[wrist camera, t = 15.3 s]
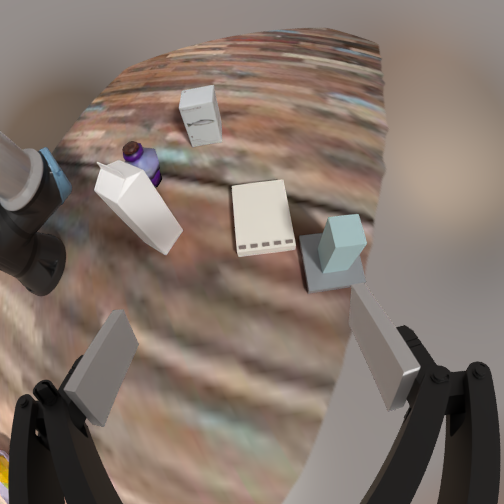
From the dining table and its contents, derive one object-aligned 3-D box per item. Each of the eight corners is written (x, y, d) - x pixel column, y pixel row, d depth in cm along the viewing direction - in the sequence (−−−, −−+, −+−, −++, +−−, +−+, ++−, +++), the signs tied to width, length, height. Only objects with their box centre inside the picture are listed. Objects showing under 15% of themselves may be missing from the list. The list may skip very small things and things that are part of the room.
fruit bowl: (5, 489, 24) (-17, 493, 14) (-5, 429, 34) (-32, 429, 24) (64, 540, 20) (42, 551, 10) (53, 482, 30) (23, 491, 20)
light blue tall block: (347, 269, 44) (367, 243, 34) (322, 273, 44) (335, 247, 34) (342, 244, 46) (358, 213, 35) (317, 248, 46) (328, 216, 36)
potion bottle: (170, 163, 58) (152, 126, 47) (166, 193, 55) (144, 157, 44) (137, 169, 59) (116, 136, 47) (131, 199, 55) (105, 167, 44)
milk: (161, 218, 53) (110, 145, 32) (184, 230, 51) (135, 154, 31) (144, 243, 51) (82, 177, 31) (166, 256, 49) (105, 190, 29)
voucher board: (295, 249, 48) (295, 244, 46) (238, 256, 48) (236, 252, 46) (282, 185, 53) (283, 178, 51) (233, 191, 53) (231, 185, 51)
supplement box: (191, 148, 59) (177, 108, 48) (194, 128, 62) (181, 89, 50) (222, 143, 59) (212, 101, 47) (222, 123, 62) (213, 83, 50)
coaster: (363, 284, 44) (365, 282, 43) (308, 293, 44) (309, 291, 43) (350, 233, 48) (352, 229, 46) (298, 239, 48) (299, 235, 47)
